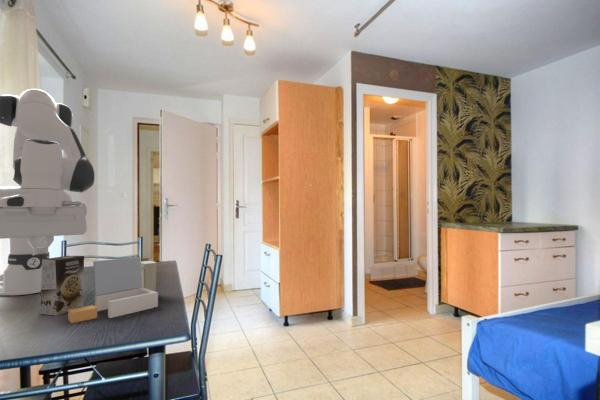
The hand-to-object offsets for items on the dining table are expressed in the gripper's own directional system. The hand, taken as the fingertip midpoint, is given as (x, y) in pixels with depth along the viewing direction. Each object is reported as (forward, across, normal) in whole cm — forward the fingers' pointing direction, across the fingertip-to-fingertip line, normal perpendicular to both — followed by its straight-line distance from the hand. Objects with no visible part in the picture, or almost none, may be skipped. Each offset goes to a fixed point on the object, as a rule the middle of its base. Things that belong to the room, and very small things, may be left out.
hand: (40, 254), depth 85 cm
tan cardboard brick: (+19, -10, 0) cm, 22 cm away
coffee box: (+19, -9, -13) cm, 25 cm away
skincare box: (+19, -33, -9) cm, 39 cm away
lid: (+9, -22, -6) cm, 25 cm away
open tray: (+19, -22, 0) cm, 29 cm away
